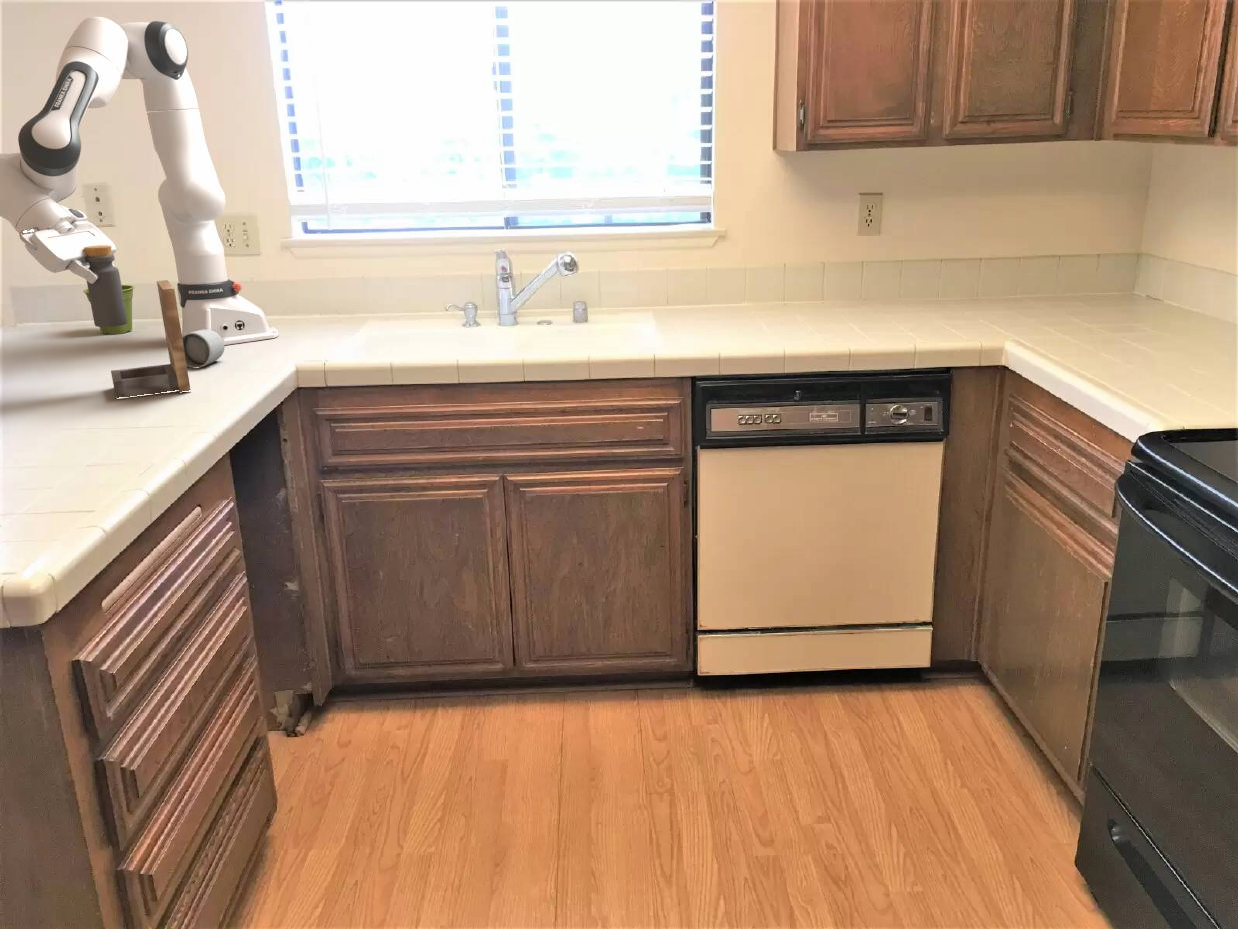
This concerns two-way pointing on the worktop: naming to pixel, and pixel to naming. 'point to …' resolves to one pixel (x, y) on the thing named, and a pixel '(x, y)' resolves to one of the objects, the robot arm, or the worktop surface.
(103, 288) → the bottle
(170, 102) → the robot arm
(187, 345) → the ceramic mug
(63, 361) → the worktop surface
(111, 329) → the plant pot
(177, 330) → the wooden stand
